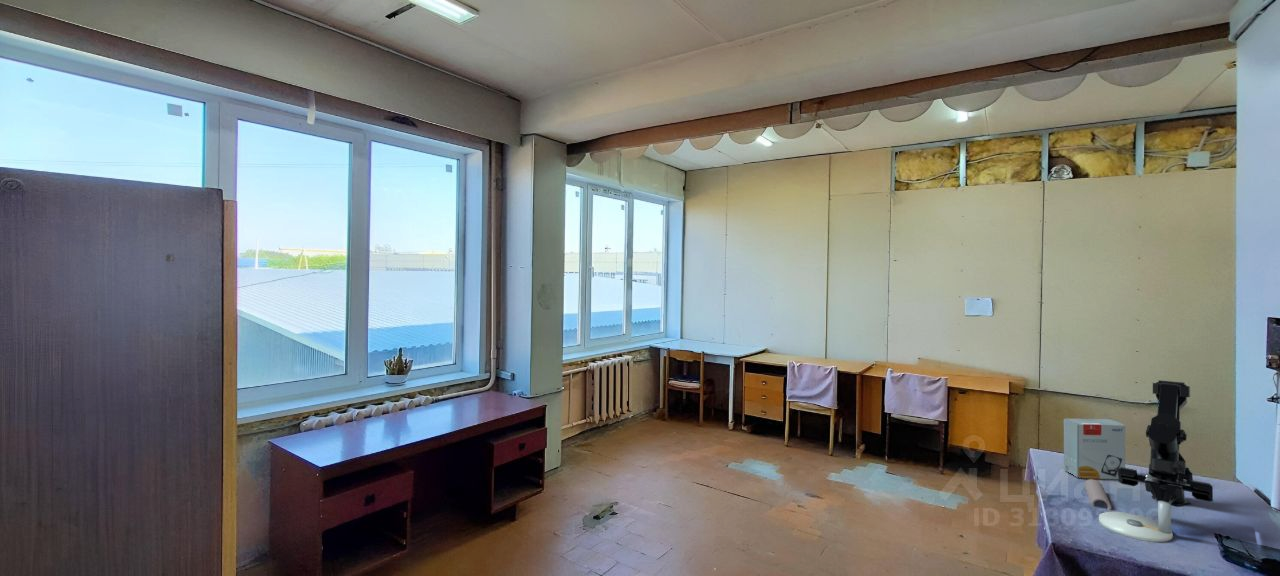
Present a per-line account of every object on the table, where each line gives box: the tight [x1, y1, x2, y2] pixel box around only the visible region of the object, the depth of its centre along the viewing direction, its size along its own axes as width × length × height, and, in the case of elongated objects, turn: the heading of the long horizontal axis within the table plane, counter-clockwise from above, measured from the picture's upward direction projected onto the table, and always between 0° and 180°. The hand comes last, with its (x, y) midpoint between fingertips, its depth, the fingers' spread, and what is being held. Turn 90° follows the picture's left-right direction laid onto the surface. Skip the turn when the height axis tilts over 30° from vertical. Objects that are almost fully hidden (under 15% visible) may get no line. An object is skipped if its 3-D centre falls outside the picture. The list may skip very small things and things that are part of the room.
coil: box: [1083, 479, 1112, 511], centre depth 163 cm, size 5×5×18 cm
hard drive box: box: [1063, 418, 1126, 481], centre depth 183 cm, size 16×8×20 cm, turn 81°
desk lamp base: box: [1098, 501, 1174, 543], centre depth 144 cm, size 15×15×9 cm
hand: (1162, 511), depth 141 cm, fingers closed
